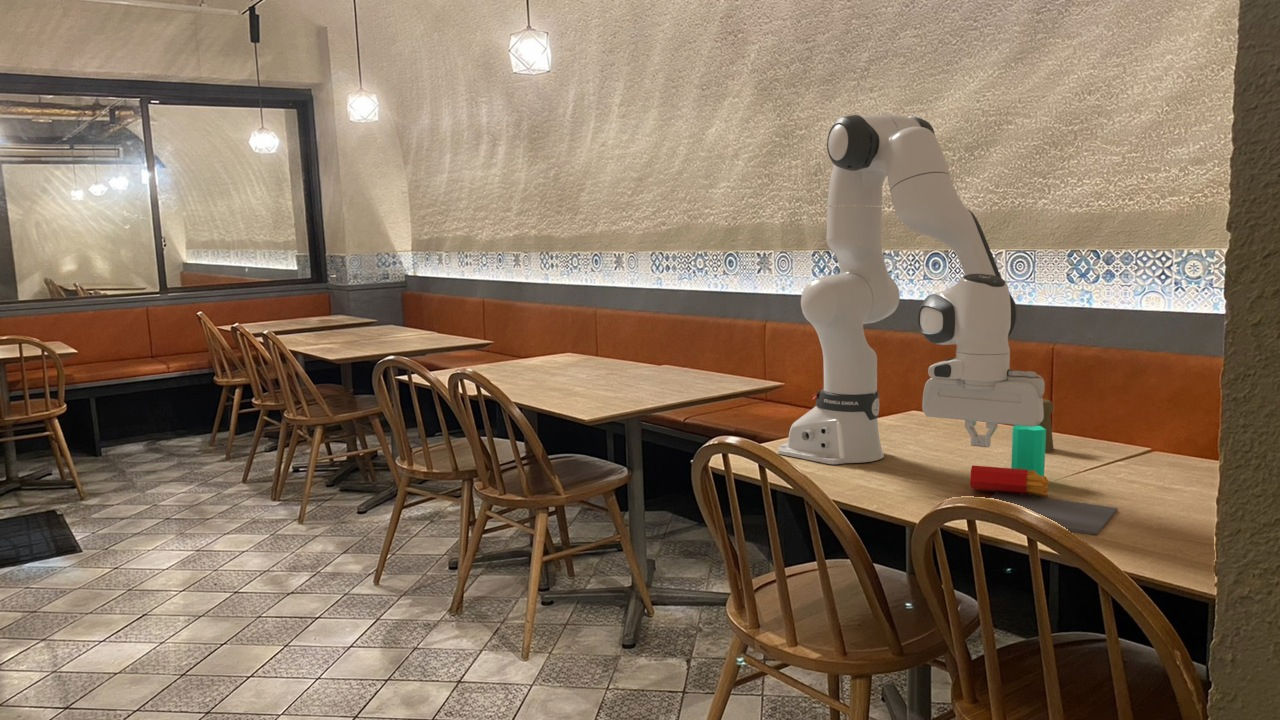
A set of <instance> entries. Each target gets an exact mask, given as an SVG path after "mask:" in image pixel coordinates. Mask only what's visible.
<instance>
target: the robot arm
mask: <svg viewBox="0 0 1280 720" xmlns="http://www.w3.org/2000/svg"><path fill="white" fill-rule="evenodd" d="M934 130H935V129H934V128H933V126H932V125H931V123H930V122H928V121H927V120H925V119H924V118H921V117H917V116H913V115H912V116H911V115H910V116H906V115H905V116H904V115H900V114H899V115H898V114H891V113H882V114H866V115H858V114H851V115H847V116H843V117H840V118H838V119H837V120H835V122H834V123H833V125H832V126H831V128H830V130H829V132H828V135H827V141H826V149H827V154H828V157H829V159H830V161H831V163H832V164H833V165H832V169H831V174H830V179H829V186H828V194H827V195H828V196H827V208H826V209H827V210H826V211H827V212H826V213H827V214H826V236H825V237H826V244H827V246H828V248H829V249H830V250H831V251H832V252H833V253H834V255H835V257H836V259H837V262H838V267H839V274H838V273H837V274H829V275H824V276H822V277H820V278H817V279H815V280H813V281H811V282H809V283H807V285H806V286H805V288H803V291H802V293H801V297H800V307H801V311H802V312H801V313H802V314H803V316H804V318H805V319H806V321H808V322H809V323H810V325H812V326H813V328H814V329H815V332H816V334H817V336H818V340H819V343H820V346H821V351H822V358H823V362H822V363H823V364H822V365H823V388H822V389H821V390H819V391H817V392H816V393H814V394H812V396H813V398H812V400H813V401H814V400H815V406H814V407H813V408H811V409H810V410H809V411H807V412H806V413H804V414H803V415H801V417H799V418H798V419H796V420H795V421H794V422H793V423H792V424H791V426H790V429H789V432H788V440H787V441H786V442H784V443H782V444H780V445H779V446H778V448H777V454H778V455H784V456H788V457H793V458H799V459H802V460H806V461H807V460H808V461H811V462H818V463H822V464H828V465H842V464H843V465H844V464H855V463H856V464H859V463H868V462H876V461H879V460H881V459H883V458H884V456H885V455H884V451H883V448H882V445H881V440H880V439H881V438H880V432H879V423H878V417H879V411H880V392H879V390H878V388H877V387H878V357H877V356H878V355H877V353H876V351H875V350H874V349H873V348H872V347H871V346H870V345H869V344H868V342H867V338H866V335H865V331H864V325H867V324H872V323H874V324H875V323H877V322H879V321H882V320H884V319H886V318H887V317H889V316H891V315H892V314H894V312H895V311H896V310H897V308H898V306H899V304H900V297H901V296H900V290H899V287H898V285H897V283H896V281H895V279H893V278H892V277H891V276H890V273H889V271H888V268H887V266H886V261H885V257H884V253H883V252H884V251H883V247H882V246H883V245H882V219H883V218H882V216H883V213H882V212H883V206H882V205H883V184H884V181H885V179H886V178H887V180H888V181H887V182H888V187H889V192H890V196H891V201H892V205H893V209H894V211H895V214H896V216H897V218H898V219H899V221H900V222H901V223H902V224H903V225H904V226H905V227H906V228H908V229H909V230H911V231H913V232H915V233H918V234H921V235H924V236H927V237H929V238H932V239H935V240H936V241H939V242H941V243H942V244H944V245H946V246H948V247H949V248H950V249H951V251H953V252H954V253H955V254H956V256H957V258H958V260H959V263H960V265H961V269H962V270H963V274H964V275H963V276H962V277H961V278H960V280H959V281H958V283H956V284H954V285H952V286H951V287H949V288H947V289H945V290H944V289H943V290H942V291H939V292H935V293H932V294H929V295H927V296H926V297H925V299H924V300H923V301H922V303H921V304H920V307H919V310H918V327H919V330H920V332H921V334H922V335H923V337H924V338H925V340H927V341H928V342H929V343H931V344H935V345H941V346H944V345H945V346H947V345H956V351H955V358H953V357H951V358H948V359H945V360H942V361H938V362H935V363H933V364H932V365H930V366H929V367H928V370H927V372H928V376H929V377H930V378H929V379H928V380H927V381H926V382H925V384H924V386H923V387H924V388H923V393H922V407H921V408H922V412H923V414H924V415H925V416H926V417H928V418H939V419H949V420H957V421H958V420H959V421H964V428H965V430H966V431H967V433H968V434H969V436H970V445H971V447H978V448H979V447H980V448H990V447H991V443H992V441H991V440H992V439H991V437H992V436H993V435H994V434H995V432H996V430H997V429H998V426H999V424H1000V425H1001V424H1002V425H1009V426H1010V425H1012V426H1015V425H1021V426H1031V427H1034V426H1037V425H1038V424H1040V423H1041V422H1042V421H1043V418H1044V410H1043V400H1042V399H1043V396H1044V394H1045V392H1046V391H1045V389H1046V382H1045V379H1044V377H1042V376H1041V375H1040V374H1037V372H1036V371H1029V370H1028V371H1023V370H1016V369H1015V370H1014V369H1010V367H1011V366H1010V365H1011V364H1010V363H1011V362H1010V361H1011V360H1010V359H1011V348H1010V345H1009V337H1010V336H1011V335H1012V334H1013V333H1014V331H1015V328H1016V326H1017V323H1018V319H1019V311H1018V307H1017V304H1016V302H1015V299H1014V298H1013V296H1012V294H1011V293H1010V290H1009V286H1008V283H1007V282H1006V280H1004V279H1003V278H1002V276H1001V273H1000V271H999V269H998V266H997V264H996V261H995V259H994V256H993V253H992V251H991V249H990V246H989V243H988V242H987V239H986V236H985V233H984V232H983V228H982V227H981V225H980V222H979V220H978V218H977V217H976V215H975V214H974V212H972V211H971V210H970V209H968V208H967V206H966V205H965V204H964V203H963V201H962V200H961V198H960V196H959V195H958V193H957V192H956V190H955V187H954V185H953V182H952V177H951V173H950V171H949V167H948V163H947V161H946V157H945V155H944V152H943V150H942V148H941V145H940V143H939V141H938V139H937V137H936V133H935V131H934ZM978 422H980V423H985V428H986V429H988V431H987V432H986V433H985V435H982V434H979V433H978V431H977V430H976V428H975V426H976V425H977V423H978Z"/></svg>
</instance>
